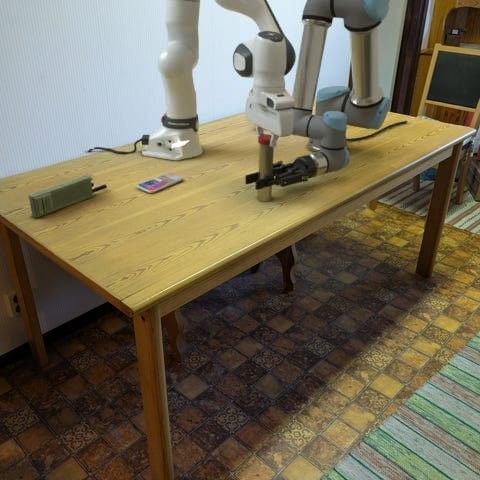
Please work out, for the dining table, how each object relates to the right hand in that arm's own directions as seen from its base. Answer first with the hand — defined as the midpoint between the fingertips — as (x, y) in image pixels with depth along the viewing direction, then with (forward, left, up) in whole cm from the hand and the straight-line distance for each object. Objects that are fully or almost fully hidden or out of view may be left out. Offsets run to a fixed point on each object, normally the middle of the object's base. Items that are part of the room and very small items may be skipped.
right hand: (251, 182), depth 150 cm
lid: (-5, +2, +13) cm, 14 cm away
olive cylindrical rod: (-5, +2, -7) cm, 8 cm away
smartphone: (+3, -32, -7) cm, 33 cm away
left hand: (-5, +2, +11) cm, 12 cm away
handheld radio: (+27, -46, -7) cm, 54 cm away
